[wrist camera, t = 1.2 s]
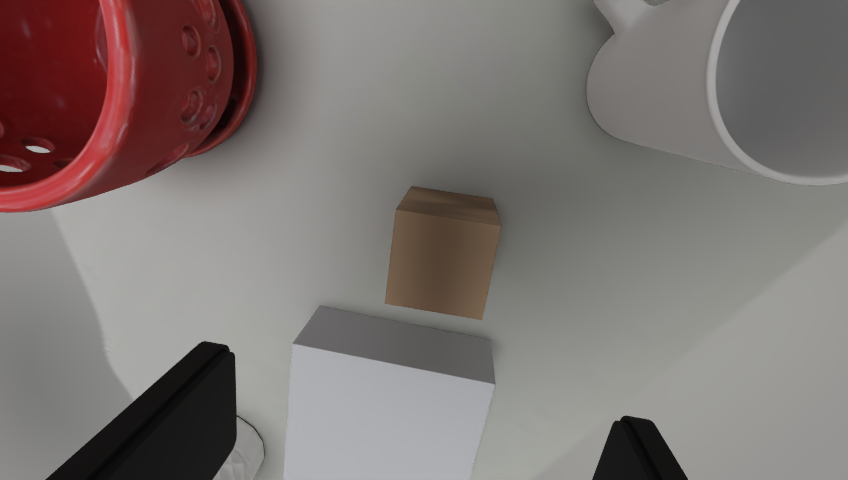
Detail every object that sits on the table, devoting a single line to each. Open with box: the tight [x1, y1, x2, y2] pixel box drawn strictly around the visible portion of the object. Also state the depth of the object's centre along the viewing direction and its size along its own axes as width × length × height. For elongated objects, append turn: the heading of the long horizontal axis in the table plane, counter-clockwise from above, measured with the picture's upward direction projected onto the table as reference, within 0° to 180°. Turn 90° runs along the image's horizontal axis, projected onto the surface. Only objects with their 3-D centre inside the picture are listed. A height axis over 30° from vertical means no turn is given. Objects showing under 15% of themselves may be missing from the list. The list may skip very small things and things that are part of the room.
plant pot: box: [0, 0, 257, 213], centre depth 17 cm, size 13×13×12 cm
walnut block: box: [385, 186, 502, 320], centre depth 22 cm, size 5×5×6 cm
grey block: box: [283, 306, 495, 480], centre depth 27 cm, size 12×12×5 cm
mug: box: [586, 0, 848, 186], centre depth 15 cm, size 10×7×12 cm, turn 44°
